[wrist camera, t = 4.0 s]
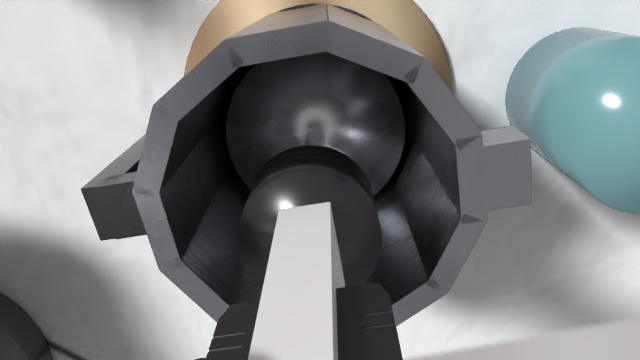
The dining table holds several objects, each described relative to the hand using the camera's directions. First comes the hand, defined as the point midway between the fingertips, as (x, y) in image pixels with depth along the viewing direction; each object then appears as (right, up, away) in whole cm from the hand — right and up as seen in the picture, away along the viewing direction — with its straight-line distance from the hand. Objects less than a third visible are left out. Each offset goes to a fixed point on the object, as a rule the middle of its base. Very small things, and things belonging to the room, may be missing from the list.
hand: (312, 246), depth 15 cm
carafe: (0, +7, +17) cm, 18 cm away
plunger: (0, +5, +11) cm, 12 cm away
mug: (+16, +8, +17) cm, 24 cm away
